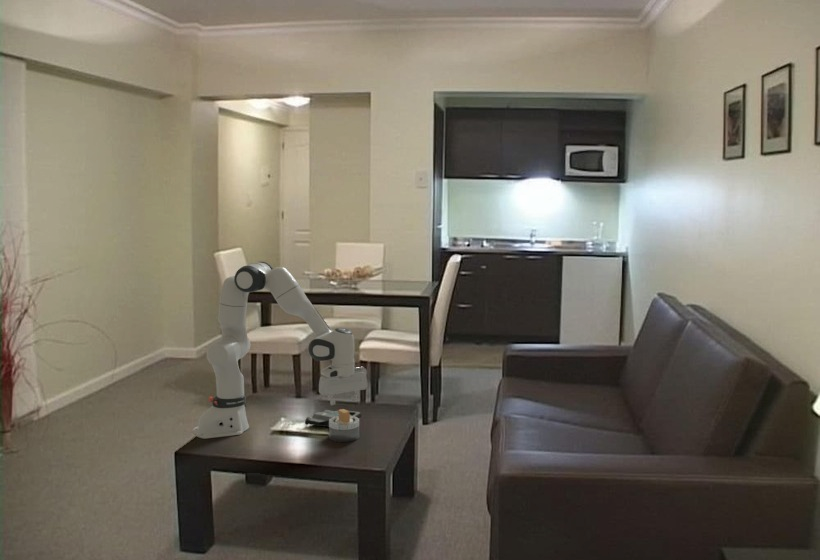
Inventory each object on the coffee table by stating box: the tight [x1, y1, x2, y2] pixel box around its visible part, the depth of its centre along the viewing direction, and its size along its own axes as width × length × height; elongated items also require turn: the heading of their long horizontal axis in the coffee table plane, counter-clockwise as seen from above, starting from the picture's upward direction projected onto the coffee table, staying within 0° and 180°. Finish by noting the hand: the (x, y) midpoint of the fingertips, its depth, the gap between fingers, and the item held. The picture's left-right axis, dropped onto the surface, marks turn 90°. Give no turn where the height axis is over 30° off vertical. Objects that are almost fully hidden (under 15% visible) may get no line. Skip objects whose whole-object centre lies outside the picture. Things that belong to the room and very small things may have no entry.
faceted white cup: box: [328, 416, 360, 443], centre depth 302 cm, size 12×12×7 cm
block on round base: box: [335, 408, 353, 424], centre depth 301 cm, size 7×7×6 cm
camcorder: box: [304, 409, 362, 428], centre depth 318 cm, size 16×20×5 cm
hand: (343, 403), depth 300 cm, fingers open, 8 cm apart
